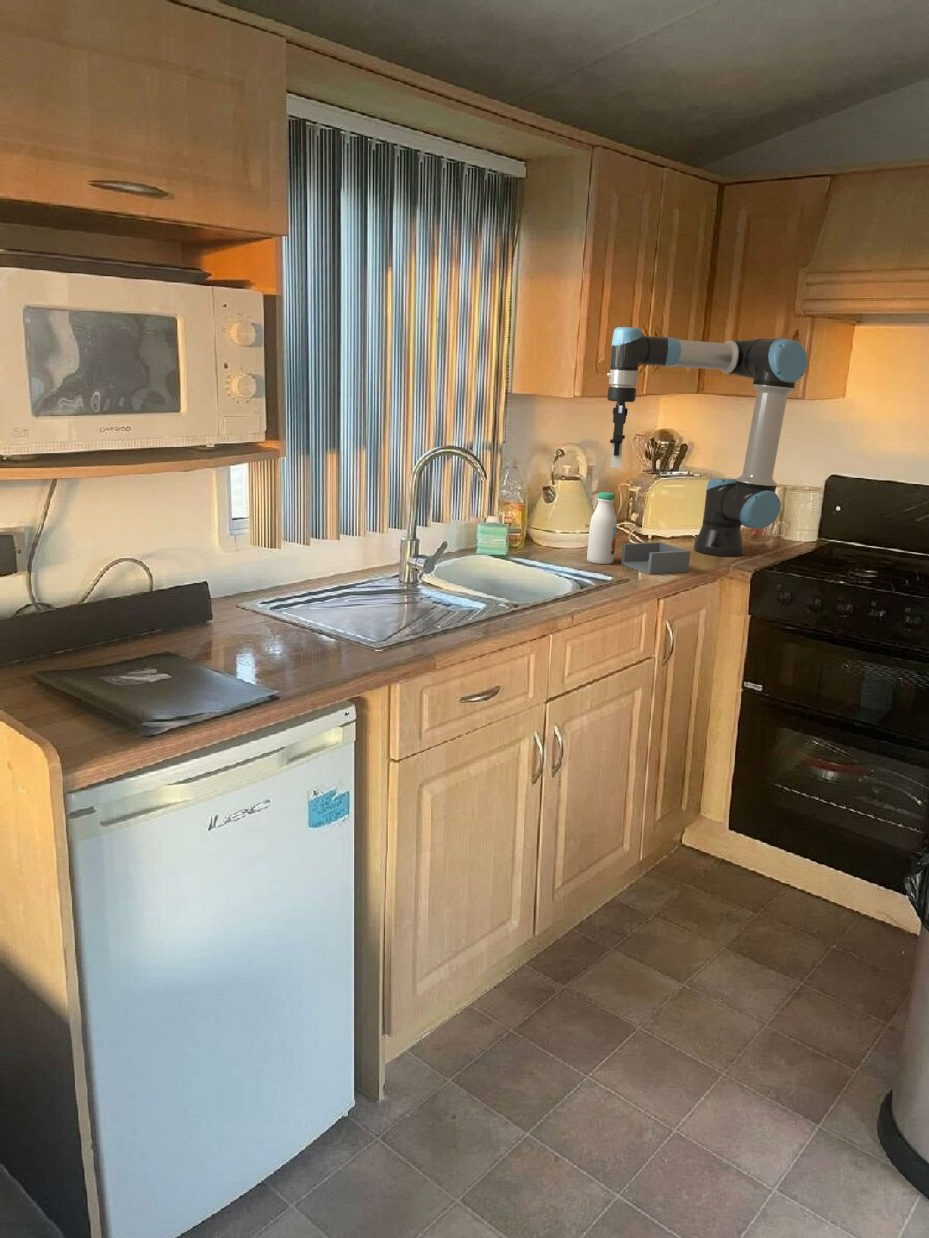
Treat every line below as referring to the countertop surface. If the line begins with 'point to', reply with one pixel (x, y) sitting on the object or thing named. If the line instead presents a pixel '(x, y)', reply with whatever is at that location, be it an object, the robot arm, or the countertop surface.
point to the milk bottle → (602, 531)
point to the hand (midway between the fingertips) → (615, 465)
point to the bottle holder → (655, 558)
